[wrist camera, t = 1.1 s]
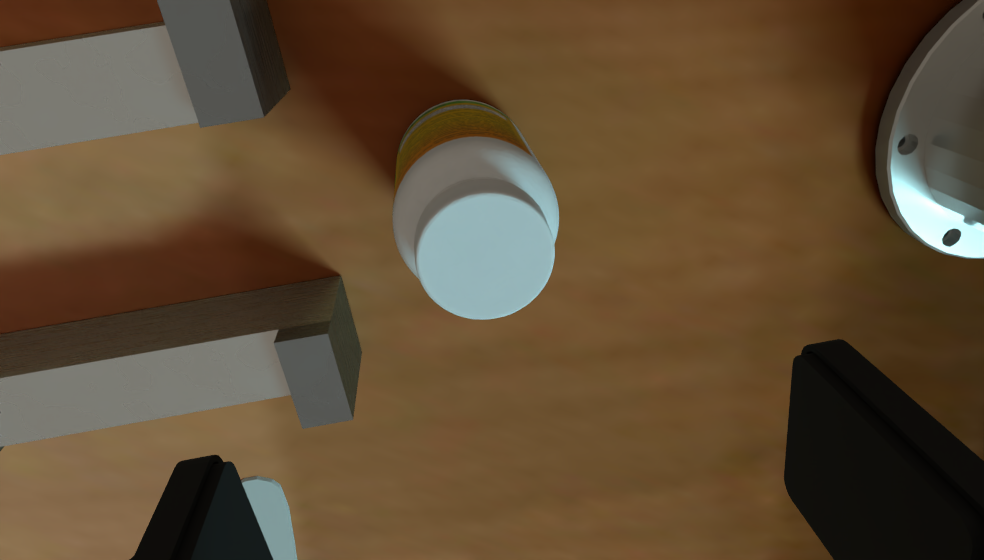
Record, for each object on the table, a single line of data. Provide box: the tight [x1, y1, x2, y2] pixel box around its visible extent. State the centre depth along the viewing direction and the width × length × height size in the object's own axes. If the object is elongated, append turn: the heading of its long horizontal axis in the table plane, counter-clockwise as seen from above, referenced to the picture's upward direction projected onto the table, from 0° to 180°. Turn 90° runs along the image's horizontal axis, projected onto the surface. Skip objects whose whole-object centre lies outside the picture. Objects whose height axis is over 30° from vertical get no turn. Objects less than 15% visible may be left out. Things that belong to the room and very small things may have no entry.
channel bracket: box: [0, 0, 362, 451], centre depth 24 cm, size 17×16×5 cm
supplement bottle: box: [393, 100, 559, 319], centre depth 23 cm, size 5×5×10 cm
